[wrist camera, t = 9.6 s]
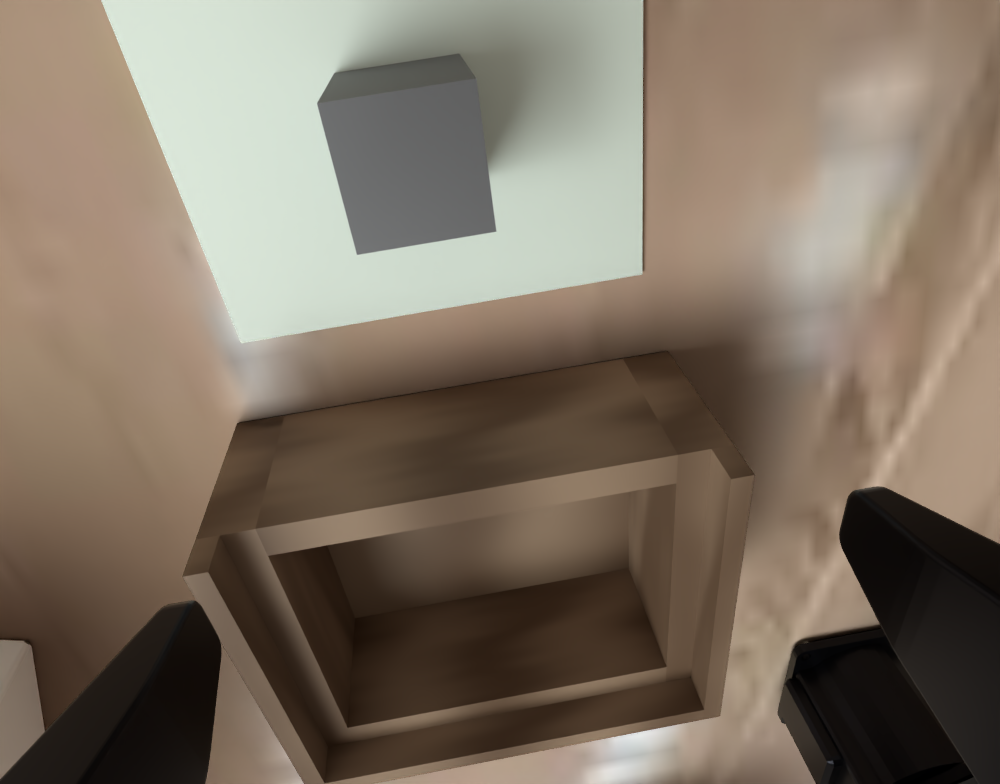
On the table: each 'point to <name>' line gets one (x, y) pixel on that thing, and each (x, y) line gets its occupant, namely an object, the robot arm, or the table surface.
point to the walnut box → (478, 568)
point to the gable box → (18, 702)
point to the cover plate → (290, 173)
